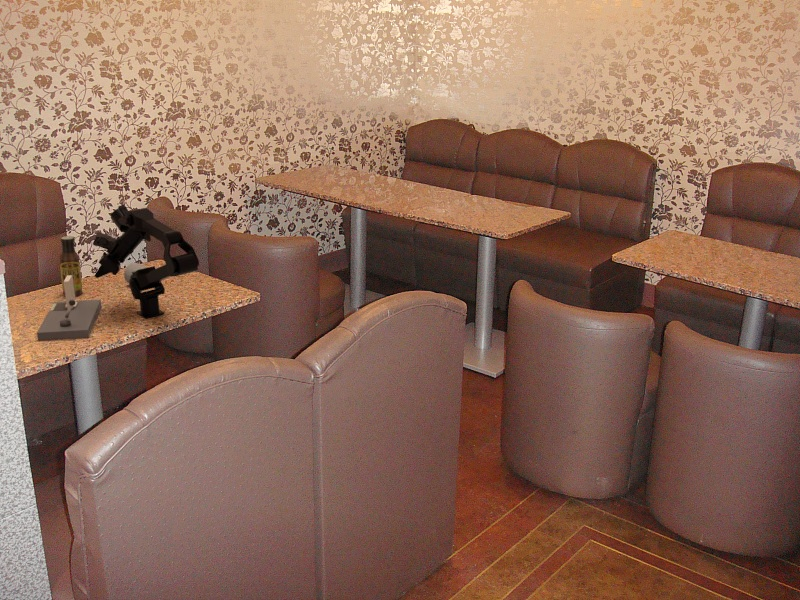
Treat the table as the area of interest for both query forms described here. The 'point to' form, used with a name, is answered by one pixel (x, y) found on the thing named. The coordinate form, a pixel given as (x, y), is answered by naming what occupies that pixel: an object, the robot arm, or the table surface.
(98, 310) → the switch panel
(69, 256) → the sauce bottle
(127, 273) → the ceramic mug
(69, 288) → the ivory paddle
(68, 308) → the steel toggle lever
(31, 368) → the table surface
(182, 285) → the table surface
